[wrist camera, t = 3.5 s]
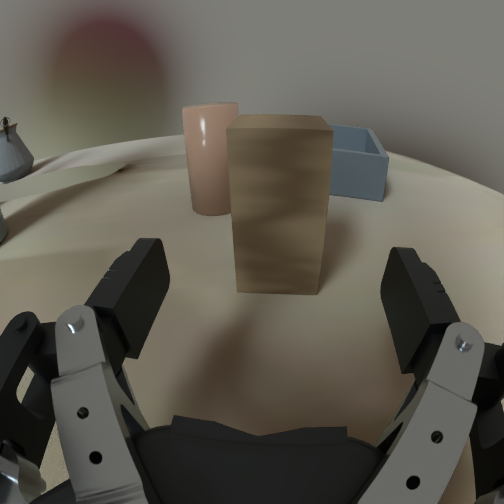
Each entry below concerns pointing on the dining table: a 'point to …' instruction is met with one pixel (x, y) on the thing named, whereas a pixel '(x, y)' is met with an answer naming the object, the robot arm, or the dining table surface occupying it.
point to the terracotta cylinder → (208, 155)
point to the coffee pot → (13, 154)
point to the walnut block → (279, 200)
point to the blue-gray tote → (357, 163)
